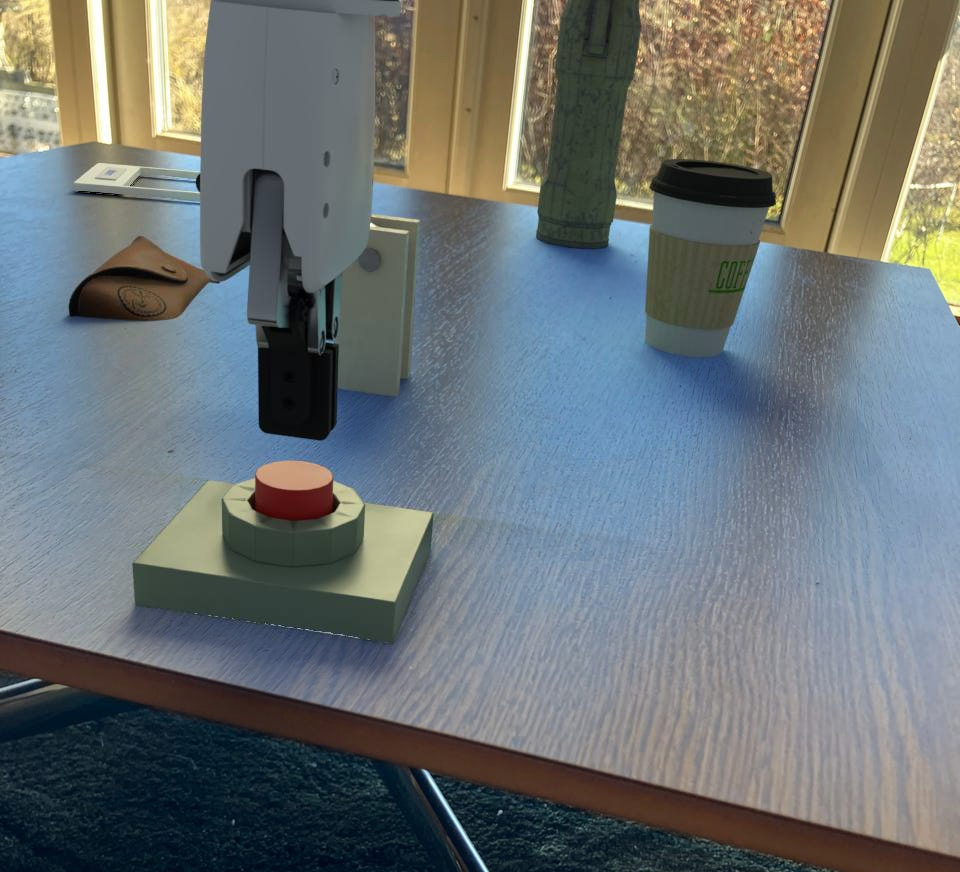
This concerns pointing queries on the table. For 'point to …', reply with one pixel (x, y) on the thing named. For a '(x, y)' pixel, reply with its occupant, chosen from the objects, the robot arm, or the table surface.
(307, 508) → the button
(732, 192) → the coffee cup
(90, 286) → the sunglasses case
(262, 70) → the robot arm
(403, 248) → the bracket
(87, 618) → the table surface
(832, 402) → the table surface
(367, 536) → the control block
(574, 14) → the thermos
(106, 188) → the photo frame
